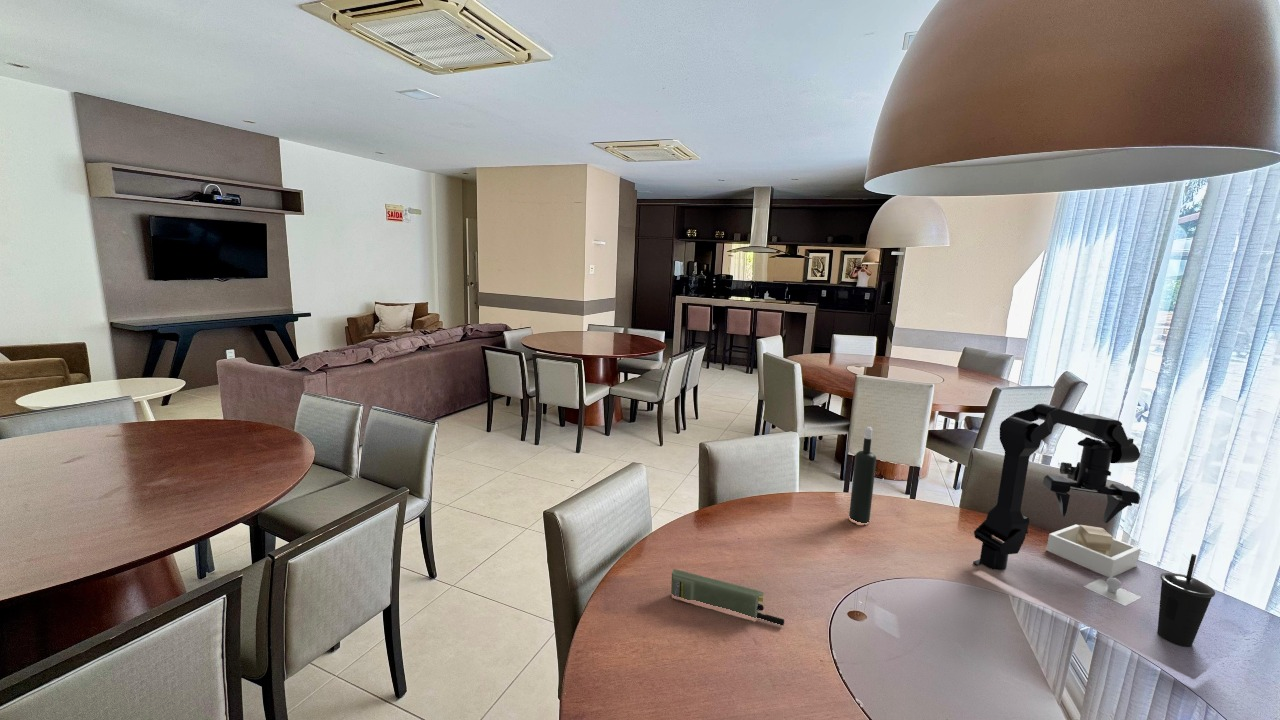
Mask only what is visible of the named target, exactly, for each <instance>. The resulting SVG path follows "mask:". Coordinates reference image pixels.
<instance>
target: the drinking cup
mask: <svg viewBox="0 0 1280 720" xmlns="http://www.w3.org/2000/svg"><path fill="white" fill-rule="evenodd" d="M1196 559H1197V554H1194V553H1191V555H1190V560H1189V564H1188V568H1187V572H1186V574H1182V573H1173V572H1172V573H1171V572H1164V573H1161V574H1160V580H1161V587H1160V596H1159V597H1160V598H1159V608H1158V619H1157V620H1158V621H1157V633H1156V634H1158V636H1159V637H1160V638H1162V639H1163V640H1165V641H1167V642H1169V643H1171V644H1174V645H1176V646H1180V647H1184V648H1190V647H1192V646H1193V644H1194V642H1195V639H1196V636H1197V635H1198V631H1199V629H1200V627H1201V625H1202V622H1203V619H1204V617H1205V615H1206V612H1207V609H1209V608H1208V607H1209V605H1210V603H1211V600H1212V598H1214V597H1215V596H1216V591H1215V590H1214V589H1213V588H1212V587H1210V585H1208V584H1206V583H1204V582H1203V581H1200V580H1199V579H1197V578H1195V577H1192V576H1193V573H1194V568H1195V564H1196Z"/></svg>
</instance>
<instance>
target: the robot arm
mask: <svg viewBox="0 0 1280 720" xmlns="http://www.w3.org/2000/svg"><path fill="white" fill-rule="evenodd" d="M1038 420H1042V421H1043V422H1042V423H1040V424H1038V423H1035V422H1036V421H1038ZM1056 424H1060V425H1063V426H1067V427H1070V428H1075V429H1077V431H1078V432H1080V433H1082V434H1083V435H1087V436H1090V437H1087V436H1085V438H1083V439H1081V440H1079V441H1078V442H1077V445H1078V446H1080V447H1082V452H1081V456H1080V457H1081V458H1080V461H1078V462H1077V463H1076V466H1073V465H1072V463H1071V462H1064V461H1063V462H1061V463H1060V466H1059V473H1060V474H1061V475H1067V479H1070V480H1072V481H1068V480H1067V479H1065V478H1064V477H1063V476H1058V475H1052V474H1046V475H1045V476H1044V477H1043V478H1042V479H1043V480H1042V484H1043V486H1045V487H1046V488H1047V489H1049V491H1052V493H1054V494H1055V496H1056V500H1057V503H1058V506H1059V507H1058V508H1059V511H1060V514H1061V516H1062V517H1065V516H1066V514H1067V511H1068V507H1069V502H1070V498H1071V495H1070V494H1069V493H1070V491H1071V490H1073V491H1080V492H1087V493H1093V494H1100V495H1106V498H1107V503H1106V505H1105V507H1106V508H1105V511H1104V514H1103V519H1102V521H1103V523H1105V524H1108V523H1110V521H1111V520H1113V518H1114V517H1115V516H1116V515H1118V513H1120V512H1121V511H1123V510H1124V509H1125V508H1126V507H1132V505H1133V504H1134V505H1135V504H1136V505H1139V504H1140V501H1141V494H1140V493H1139V492H1138V491H1137V490H1134V489H1133V488H1132V487H1130V486H1128V485H1122V484H1117V483H1111V484H1110V485H1109V487H1108V486H1107V482H1108V477H1111V475H1112V472H1111V471H1110V468H1111V467H1110V466H1111V464H1125V463H1126V464H1127V463H1128V464H1129V463H1131V464H1133V463H1134V462H1137V461H1138V460H1139V459H1140V457H1141V452H1140V449H1139V447H1138V446H1137V445H1136V444H1135V443H1134V438H1131V437H1129V436H1127V433H1126V431H1125V428H1124V427H1123V423H1122V422H1121V421H1120V420H1117V419H1114V418H1111V417H1106V416H1103V415H1102V416H1101V415H1098V414H1094V413H1082V414H1079V413H1076V412H1072V411H1068V410H1066V409H1061V408H1060V407H1057V406H1054V405H1050V404H1048V403H1047V404H1046V403H1037V404H1036V405H1034V406H1033V407H1030V408H1028V409H1024V410H1021V411H1016V412H1015V413H1013V414H1011V415H1010V416H1009V417H1007V418H1005V419H1004V420H1002V421H1001V422H1000V424H999V441H1000V444H1001V445H1002V448H1003V451H1004V457H1003V461H1002V462H1003V463H1002V468H1001V475H1000V481H999V487H998V494H997V501H996V504H995V506H993V507H992V508H991V509H990V510H989V511H988V512H987V515H986V518H985V520H984V521H982V523H981V524H979V526H978V527H977V528H976V529H975V530H973V535H974V539H976V540H978V541H980V542H981V549H980V557H979V559H977V560H974V561H973V562H972V564H973V565H975V566H976V567H977V566H978V567H979V566H981V565H983V566H985V567H986V568H988V569H990V570H998V571H1003V570H1006V569H1007V567H1008V559H1009V555H1015V554H1018V553H1020V550H1021V548H1022V546H1023V543H1024V542H1025V539H1026V536H1027V535H1028V534H1029V531H1028V529H1029V528H1028V527H1029V525H1030V518H1029V517H1027V516H1026V515H1023V513H1022V503H1023V496H1024V491H1025V487H1026V479H1027V474H1028V473H1027V472H1028V467H1029V461H1030V457H1031V455H1033V454H1034V453H1035V452H1036V451H1038V449H1039V448H1040V446H1041V443H1042V440H1044V439H1046V438H1047V437H1049V436H1050V435H1051V434H1052V432H1053V429H1054V427H1055V425H1056ZM1073 481H1075V482H1073ZM1068 492H1069V493H1068Z"/></svg>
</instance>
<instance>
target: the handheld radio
mask: <svg viewBox="0 0 1280 720" xmlns="http://www.w3.org/2000/svg"><path fill="white" fill-rule="evenodd" d="M670 588H671V593H672V594H673V595H674V596H677V597H681V598H684V599H687V600H696V601H700V602H703V603H706V604H710V605H713V606H718V607H722V608H726V609H730V610H732V611H736V612H739V613H742V614H745V615H748V616H751V617H754V618H756V617H757V618H761V620H762V619H764V620H763V621H765V620H767V621H766V622H768V621H770V622H769V623H772V622H773V623H772V624H775V623H777V624H776V625H778V624H780V625H779V626H782V625H783V626H784V625H785V619H784V618H780V617H777V616H773V615H770V614H764V613H761V612H762V611H763V610H764V608H765V607H764V605H763V604H761V603H763V602H764V594H765V592H764V591H761V590H757V589H753V588H749V587H746V586H741V585H737V584H734V583H730V582H726V581H722V580H718V579H714V578H711V577H707V576H703V575H698V574H696V573H692V572H688V571H683V570H680V569H675V568H673V570H672V572H671V587H670ZM671 593H670V594H671ZM760 602H761V603H760ZM759 611H760V612H759Z"/></svg>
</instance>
